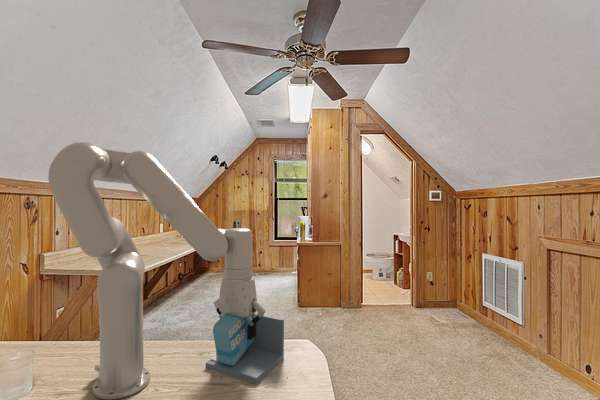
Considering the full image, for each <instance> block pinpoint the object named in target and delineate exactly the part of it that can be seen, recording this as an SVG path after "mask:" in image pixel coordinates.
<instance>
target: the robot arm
mask: <svg viewBox="0 0 600 400" xmlns="http://www.w3.org/2000/svg"><path fill="white" fill-rule="evenodd" d="M47 179H48V180H47V181H48V186H49V189H50V192H51V194H52V197H53V199H54V201H55V203H56V204H57V207H58V208H59V210H60V212H61V214H62V216H63V218H64V220H65V222H66V224H67V226H68V228H69V229H70V230H71V232H72V234H73V236H74V238H75V240H76V242H77V244H78V246H79V247H80V250H81V251H82V252H83V254H85V255H87V256H88V257H91V258H95V259H97V261H98V263H99V264H100V266H101V269H100V272H99V274H98V278H97V283H96V291H97V299H98V300H97V302H98V320H99V321H98V323H99V364H97V365H95V366H94V371H95V372H97V373H98V378H97V380H95V382H94V383H93V385H92V393H93V395H94V396H95V398H98V399H101V400H116V399H122V398H126V397H129V396H132V395H134V394H137V393H138V392H140V391H142V390H143V389H144V388H145V387H146V386H148V384H149V383H150V381H151V373H150V370H148V369H147V368H144V300H143V299H144V298H143V297H144V295H143V283H144V274H145V262H144V260H143V258H142V256H141V254H140V252H139V250H138V248H137V246H136V244H135V242H134V241H133V239H132V237H131V235H130V233H129V231H128V229H127V227H126V226H125V225H124V224H123V222H122V221H121V220H120V219H118V218H116V217H114V216H111V214H110V212H109V210H108V209H107V207H106V206H105V203H104V201H103V199H102V197H101V196H100V193H99V192H98V190H97V189H96V187H95V183H94V181H97V182H98V181H99V182H100V181H101V182H107V183H108V182H109V183H115V184H127V185H131V186H132V187H133V188H134V189H135V190H136V191H137V193H139V194H140V196H141V197H142V198H144V199H145V200H146V201H147V202H148V203H149V205H150V206H151V207H153V209H154V210H155V211H156V212H157V213H158V214H159V215H160V216H161V217H162V219H164V221H165V222H166V223H168V224H169V225H170V226H171V227H173V228H174V229H175V231H176V232H177V233H178V234H179V235H180V236H181V237H182V238H183V239H184V240H185V241H186V243H187V244H189V246H190V247H192V248H193V249H194V251H195V252H196V253H197V254H198V255H199V256H200V257H201V258H202V259H204V260H205V261H209V262H216V261H219V260H222V259H223V258H224V266H223V267H222V272H224V276H222V279H221V282H220V287H219V296H218V297H219V298H218V299H216V300H214V301H213V306H214V307H215V309H216V313H217V314H218V315H219V316H218V317H219V319H220V318H221V317H222V316H223V315H224V314H225V313H227V314H231V315H235V316H239V317H242V318H246V319H247V321H248V323H249V325H248V326H247V339H248V340H251V339H252V338H254V337H255V336H256V323H257V322H258V321H259V320H260V319H261V318H262V316H263V315H265V313H266V310H265V309H264V307H262V305H260V304H259V303H258V301H257V300H258V298H257V297H258V296H257V287H256V281H255V278H254V277H253V232H252V230H251V229H249V228H245V227H234V228H228V229H227V228H226V229H225V228H218V227H217V226H216V225H215V224H214V223H213V222H212V220H211V219H209V218H208V216H207V215H206V214H205V213H204V211H202V210H201V209H200V208H199V206H198V205H197V204H196V203H195V201H194V200H193V199H192V197H191V196H190V195H189V194H188V193H187V191H185V190H184V188H183V187H182V186H181V185H180V184H179V183H178V182H177V181H176V180H175V179H174V177H173V176H172V175H171V174H170V173H169V172H168V171H167V170H166V169H165V168H164V167H163V165H162V164H161V163H160V162H159V161H158V159H156V157H154V156H153V155H152V154H151V153H149V152H147V151H143V150H135V151H132V152H126V151H120V150H112V149H106V148H100V147H99V146H97V145H95V144H93V143H90V142H85V141H82V142H80V141H78V142H74V143H70V144H68V145H66V146H65V147H63V148H62V149H61V150H60V151H59V152H58V153H57V154H56V155H55V157H54V158H53V160H52V162H51V163H50V165H49V169H48V178H47ZM256 312H257V313H256ZM256 314H257V316H256ZM250 315H251V316H250ZM251 317H252V318H251ZM252 319H253V320H252Z"/></svg>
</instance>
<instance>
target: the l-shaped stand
mask: <svg viewBox="0 0 600 400" xmlns="http://www.w3.org/2000/svg"><path fill="white" fill-rule="evenodd" d="M255 314H256V316H257V314H258V313H255ZM252 320H253V319H252ZM284 348H285V319H283V318H279V317H273V316H268V315H265V314H264V315H263V316H262V318H261V319H260V320H259V321H258V322H257V323H256V336H255V337H254V340H253V342H252V344H251V345H250V346H249V347H248V349H247V350H246V351H245V353H244V354H243V355H242V356H241V358H240V359H239V360H238V361H237V363H236V364H235V365H233V366H232V365H228V364H224V363H221V362H215V361H212V360H210V359H209V360H207V361H206V362H205V369H207V370H211V371H215V372H217V373H220V374H224V375H227V376H230V377H234V378H236V379H239V380H242V381H246V382H249V383H252V384H256V385H257V384H258V383H260V382H261V380H263V379H264V378H265V377H266V376H267V375H268V374H269V373H271V372H272V370H273V369H274V368H276V367H278V365H279V364H281V362H282V361H283V360H285V358H284V357H285V355H284V353H285V349H284Z"/></svg>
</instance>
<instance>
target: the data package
mask: <svg viewBox="0 0 600 400" xmlns="http://www.w3.org/2000/svg"><path fill="white" fill-rule="evenodd" d="M250 316H251V315H250ZM251 318H252V317H251ZM248 325H249V323H248V321H247V319H246V318H242V317H239V316H235V315H231V314H227V313H225V314H224V315H223V316H222V317H221V318H219V319H218V320H217V321H216V322H215V324H214V325H213V328H212V334H213V340H214V341H213V342H214V345H215V354H216V353H217V359H218V361H219V362H221V363H224V364H228V365H232V366H233V365H235V364H236V363H237V361H238V360H239V359H240V358H241V356H242V355H243V354H244V353H245V351H246V350H247V349H248V347H249V346H250V345H251V344H252V342H253V340H254V338H252V339H251V340H248V339H247V326H248Z"/></svg>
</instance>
